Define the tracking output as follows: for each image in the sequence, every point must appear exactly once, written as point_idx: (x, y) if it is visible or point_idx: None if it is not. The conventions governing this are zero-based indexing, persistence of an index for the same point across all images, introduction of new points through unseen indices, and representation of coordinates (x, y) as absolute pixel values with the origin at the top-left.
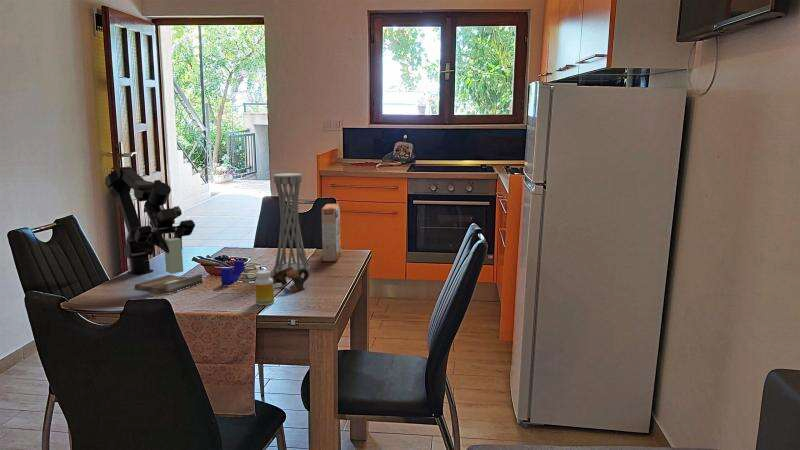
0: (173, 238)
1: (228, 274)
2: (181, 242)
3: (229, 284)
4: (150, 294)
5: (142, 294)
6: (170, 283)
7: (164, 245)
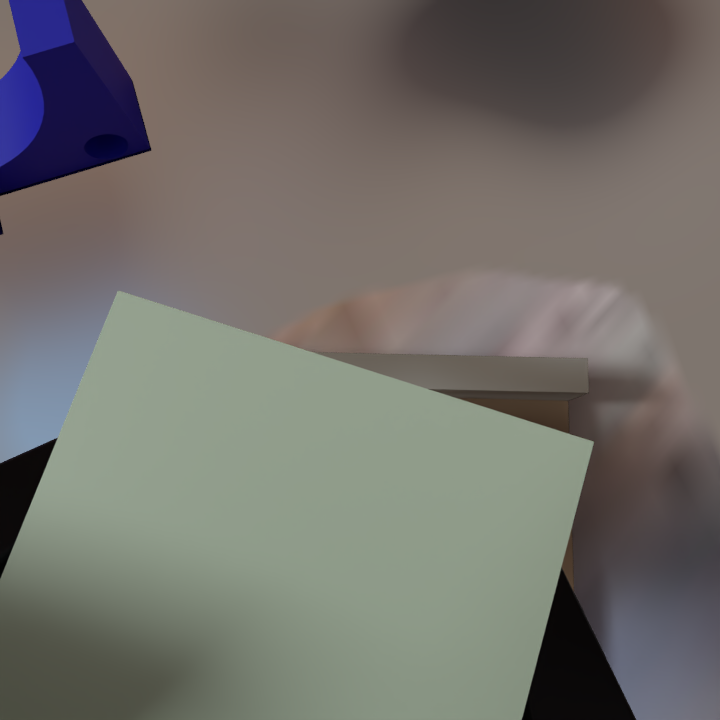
0: (147, 662)
1: (85, 10)
2: (39, 457)
3: (127, 75)
4: (645, 541)
5: (685, 619)
6: (548, 369)
7: (585, 638)
